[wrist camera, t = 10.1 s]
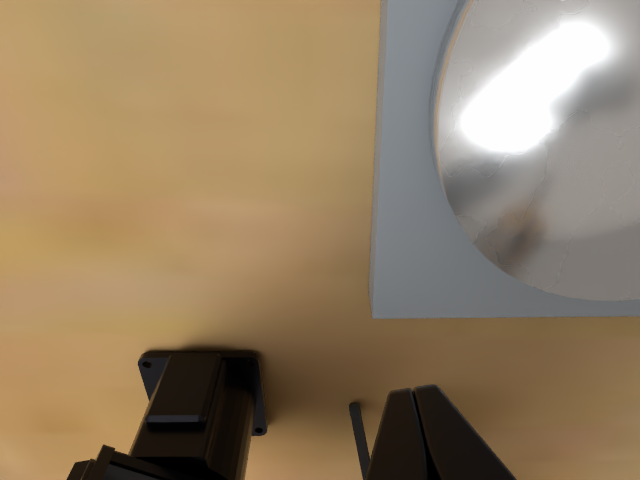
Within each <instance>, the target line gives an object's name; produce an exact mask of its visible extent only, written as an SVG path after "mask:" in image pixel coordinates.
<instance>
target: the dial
mask: <svg viewBox="0 0 640 480" xmlns="http://www.w3.org/2000/svg"><path fill="white" fill-rule="evenodd" d="M429 140H430V148H431V155H432V160H433V164H434V168H435V171H436V175H437V178H438V182H439V184H440V186H441V188H442V190H443V193H444V195H445V197H446V199H447V201H448V203H449V205H450V207H451V209H452V211H453V213H454V215H455V217H456V219H457V221H458V222H459V224H460V226H461V227H462V229H463V230H464V232H465V233H466V235H467V236H468V238H469V239H470V241H471V242H472V243H473V244H474V245H475V246H476V247H477V248H478V250H479V251H480V252H481V253H482V254H483V255H484V256H485V257H486V258H487V259H488V260H489V261H491V262H492V263H493V264H494V265H496V266H497V267H498V268H500V269H501V270H502V271H503V272H505V273H507V274H508V275H510V276H512V277H514V278H515V279H517V280H519V281H521V282H522V283H524V284H527V285H529V286H532V287H535V288H537V289H540V290H542V291H545V292H548V293H552V294H556V295H560V296H564V297H569V298H577V299H585V300H596V301H622V300H634V299H640V0H459V1H458V3H457V5H456V7H455V9H454V11H453V14H452V16H451V19H450V21H449V24H448V27H447V29H446V32H445V34H444V37H443V39H442V42H441V45H440V49H439V53H438V57H437V61H436V64H435V68H434V72H433V77H432V84H431V91H430V99H429Z"/></svg>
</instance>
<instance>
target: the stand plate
mask: <svg viewBox="0 0 640 480" xmlns="http://www.w3.org/2000/svg"><path fill="white" fill-rule="evenodd" d="M458 1H459V0H381V18H380V42H379V65H378V88H377V111H376V134H375V157H374V180H373V203H372V226H371V249H370V272H369V298H370V306H371V313H372V319H402V318H507V317H613V316H640V299H634V300H622V301H596V300H585V299H577V298H569V297H564V296H560V295H556V294H552V293H548V292H545V291H542V290H540V289H537V288H535V287H532V286H529V285H527V284H524V283H522V282H521V281H519V280H517V279H515V278H514V277H512V276H510V275H508V274H507V273H505V272H503V271H502V270H501V269H500V268H498V267H497V266H496V265H494V264H493V263H492V262H491V261H489V260H488V259H487V258H486V257H485V256H484V255H483V254H482V253H481V252H480V251H479V250H478V248H477V247H476V246H475V245H474V244H473V243H472V242H471V241H470V239H469V238H468V236H467V235H466V233H465V232H464V230H463V229H462V227H461V226H460V224H459V222H458V221H457V219H456V217H455V215H454V213H453V211H452V209H451V207H450V205H449V203H448V201H447V199H446V197H445V195H444V193H443V190H442V188H441V186H440V184H439V182H438V178H437V175H436V171H435V168H434V164H433V160H432V155H431V148H430V140H429V99H430V91H431V84H432V77H433V72H434V68H435V64H436V61H437V57H438V53H439V49H440V45H441V42H442V39H443V37H444V34H445V32H446V29H447V27H448V24H449V21H450V19H451V16H452V14H453V11H454V9H455V7H456V5H457V3H458Z"/></svg>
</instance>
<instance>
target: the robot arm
mask: <svg viewBox="0 0 640 480" xmlns="http://www.w3.org/2000/svg"><path fill="white" fill-rule="evenodd" d="M248 360H250V361H253V362H249V361H248ZM147 361H148V362H147ZM138 366H139V370H140V373H141V376H142V379H143V382H144V386H145V389H146V392H147V395H148V399H149V404H148V407H147V409H146V412H145V414H144V417H143V419H142V422H141V424H140V427H139V429H138V432H137V434H136V437H135V439H134V442H133V444H132V447H131V449H130V452H129V454H128V455H127V454H124V453H121V452H118V451H114V450H115V448H113V447H110V446H107V445H103V446H102V448H101V450H100V452H99V454H98V456H97V458H96V460H94V459H90V460H87V461H81V462H76V463H75V464H74V466H73V468H72V470H71V472H70V474H69V476H68V478H67V480H245V473H246V467H247V460H248V454H249V448H250V441H251V436H261V435H264V434H266V433H267V427H268V422H267V414H266V406H265V397H264V389H263V381H262V372H261V364H260V358H259V355H257V354H256V353H254V352H148V353H144V354H142V355H141V357H140V359H139V361H138ZM365 480H517V479H516V478H515V477H514V476H513V475H512V473H511V472H510V471H509V470H508V469H507V467H506V466H505V465H504V464H503V463H502V462H501V460H500V459H499V458H498V457H497V456H496V454H495V453H494V452H493V451H492V450H491V448H490V447H489V446H488V445H487V444H486V443H485V441H484V440H483V439H482V438H481V437H480V435H479V434H478V433H477V432H476V431H475V429H474V428H473V427H472V426H471V425H470V424H469V422H468V421H467V420H466V419H465V418H464V416H463V415H462V414H461V413H460V412H459V410H458V409H457V408H456V407H455V406H454V405H453V403H452V402H451V401H450V400H449V399H448V397H447V396H446V395H445V394H444V393H443V391H442V390H441V389H440V388H439V387H438V386H437V385H433V384H432V385H426V386H419V387H415V388H414V390H413V391H412V390H411V389H409V388H406V389H400V390H393V391H390V392H389V394H388V396H387V399H386V403H385V407H384V411H383V414H382V418H381V422H380V425H379V429H378V433H377V436H376V440H375V444H374V448H373V451H372V455H371V459H370V462H369V466H368V470H367V474H366V477H365Z"/></svg>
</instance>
